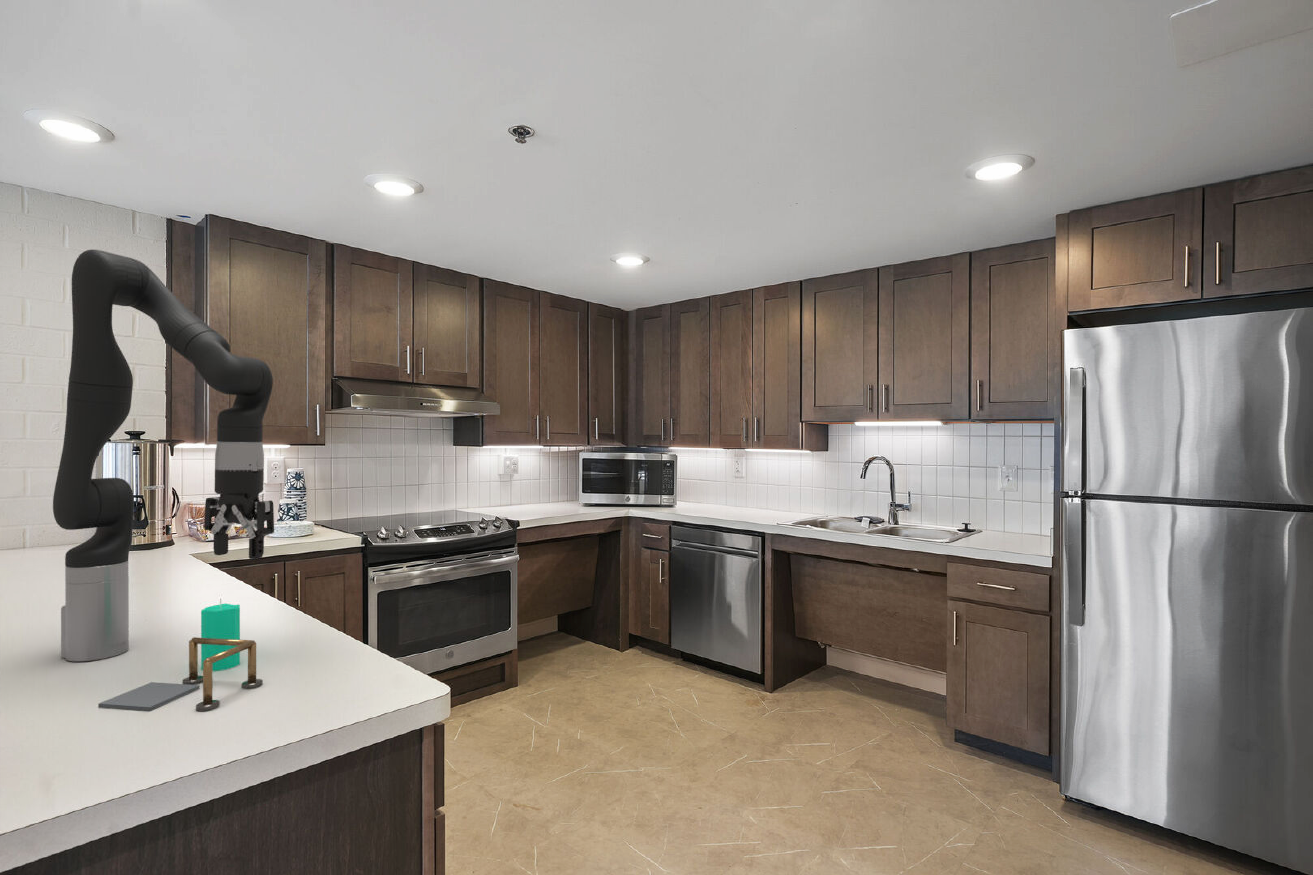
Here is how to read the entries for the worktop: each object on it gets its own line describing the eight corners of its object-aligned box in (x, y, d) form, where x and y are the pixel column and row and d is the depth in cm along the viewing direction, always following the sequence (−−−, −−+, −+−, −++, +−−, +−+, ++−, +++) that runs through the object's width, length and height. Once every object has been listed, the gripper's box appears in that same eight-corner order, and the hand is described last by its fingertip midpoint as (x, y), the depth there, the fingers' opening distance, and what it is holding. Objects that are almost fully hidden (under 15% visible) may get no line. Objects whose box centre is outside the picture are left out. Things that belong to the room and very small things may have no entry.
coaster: (98, 707, 102) (98, 703, 102) (151, 685, 111) (151, 682, 111) (150, 711, 101) (149, 707, 101) (199, 688, 110) (199, 685, 110)
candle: (221, 672, 117) (220, 603, 117) (192, 670, 119) (192, 602, 119) (248, 661, 123) (248, 595, 123) (220, 659, 124) (220, 594, 124)
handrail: (127, 706, 103) (127, 657, 103) (193, 678, 114) (192, 634, 114) (208, 712, 100) (208, 661, 100) (266, 682, 112) (266, 638, 112)
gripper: (191, 466, 120) (189, 556, 120) (250, 469, 115) (248, 563, 116) (230, 464, 127) (228, 550, 127) (287, 467, 123) (285, 556, 123)
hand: (238, 556), depth 122 cm, fingers open, 8 cm apart
